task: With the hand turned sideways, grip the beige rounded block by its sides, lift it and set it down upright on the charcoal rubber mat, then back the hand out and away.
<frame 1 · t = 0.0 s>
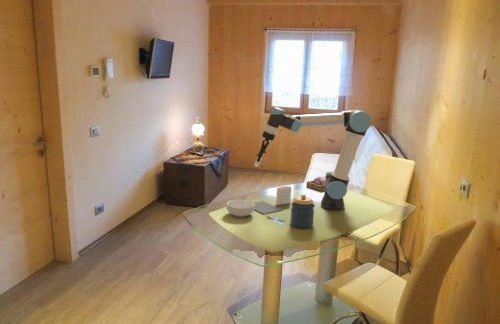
hand: (257, 164, 238), 28 cm above the table, tool tilted 20°, fingers open, 13 cm apart
cereal bowl: (240, 215, 229), on the table
mat: (262, 207, 243), on the table
beige rounded block: (283, 203, 253), on the table
canister: (301, 225, 217), on the table
pencil case: (325, 187, 297), resting in pen tray
pen tray: (325, 186, 297), on the table
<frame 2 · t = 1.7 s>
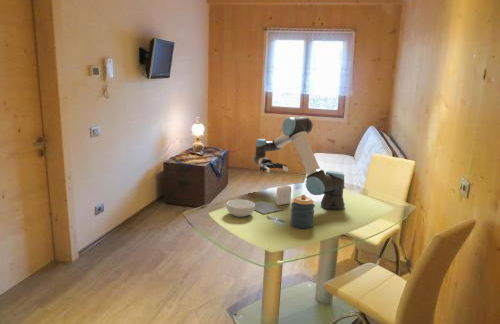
hand: (278, 170, 257), 20 cm above the table, tool horizontal, fingers open, 13 cm apart
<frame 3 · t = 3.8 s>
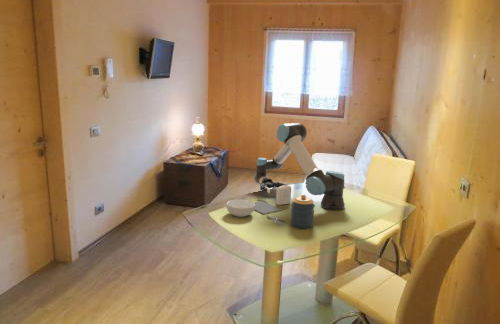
hand: (278, 190, 258), 7 cm above the table, tool horizontal, fingers open, 13 cm apart
nothing on the table moved.
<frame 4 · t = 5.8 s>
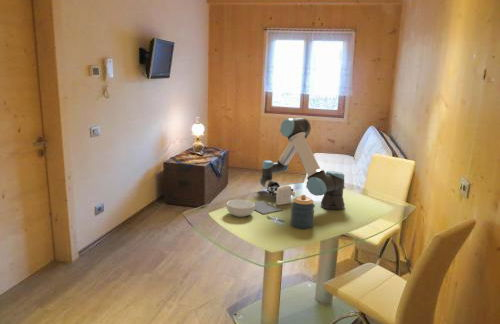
hand: (286, 195, 248), 7 cm above the table, tool horizontal, fingers open, 10 cm apart
beige rounded block: (283, 203, 253), on the table, touching gripper
everything else where it was.
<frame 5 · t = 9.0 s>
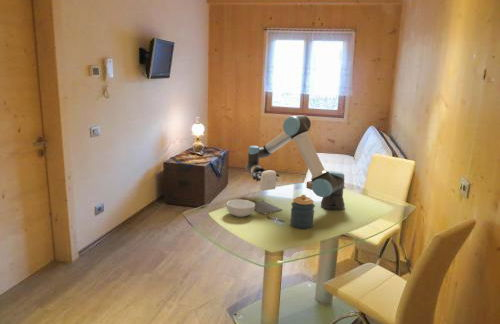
hand: (271, 180, 239), 18 cm above the table, tool horizontal, fingers closed on beige rounded block, 10 cm apart
beige rounded block: (267, 189, 244), point 11 cm above the table, touching gripper
everything else where it was.
when the fingers open (9 cm above the table, at t = 12.2 s): beige rounded block stays where it is, resting on mat.
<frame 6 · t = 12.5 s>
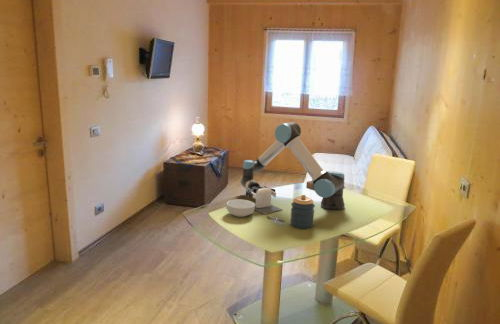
hand: (265, 195, 238), 9 cm above the table, tool horizontal, fingers open, 13 cm apart
beige rounded block: (262, 207, 243), point 1 cm above the table, touching mat
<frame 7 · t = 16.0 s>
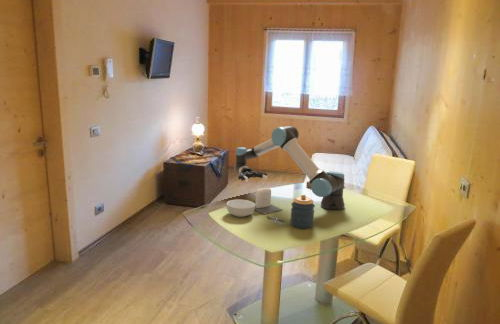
hand: (257, 179, 249), 16 cm above the table, tool horizontal, fingers open, 13 cm apart
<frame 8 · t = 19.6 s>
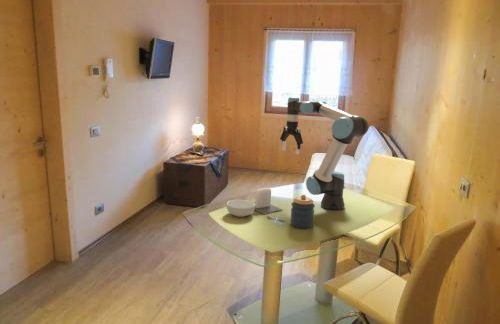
hand: (290, 152, 260), 32 cm above the table, tool pointing down, fingers open, 13 cm apart
at the end: beige rounded block inside the target area on the mat (0.1 cm from its centre), point 0.4 cm above the mat's base; beige rounded block tilted 0°; the gripper is holding nothing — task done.
